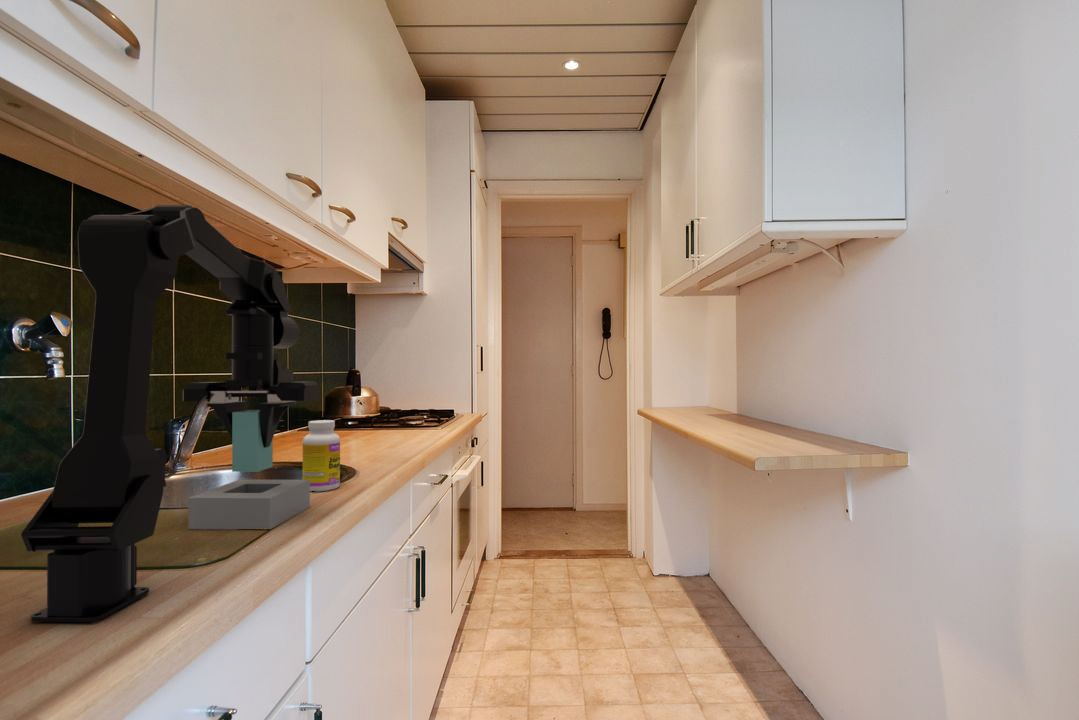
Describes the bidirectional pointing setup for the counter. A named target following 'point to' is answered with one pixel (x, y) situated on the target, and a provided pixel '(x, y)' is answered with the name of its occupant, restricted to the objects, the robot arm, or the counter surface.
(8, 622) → the counter surface
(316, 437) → the supplement bottle
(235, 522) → the well block
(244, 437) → the teal block
